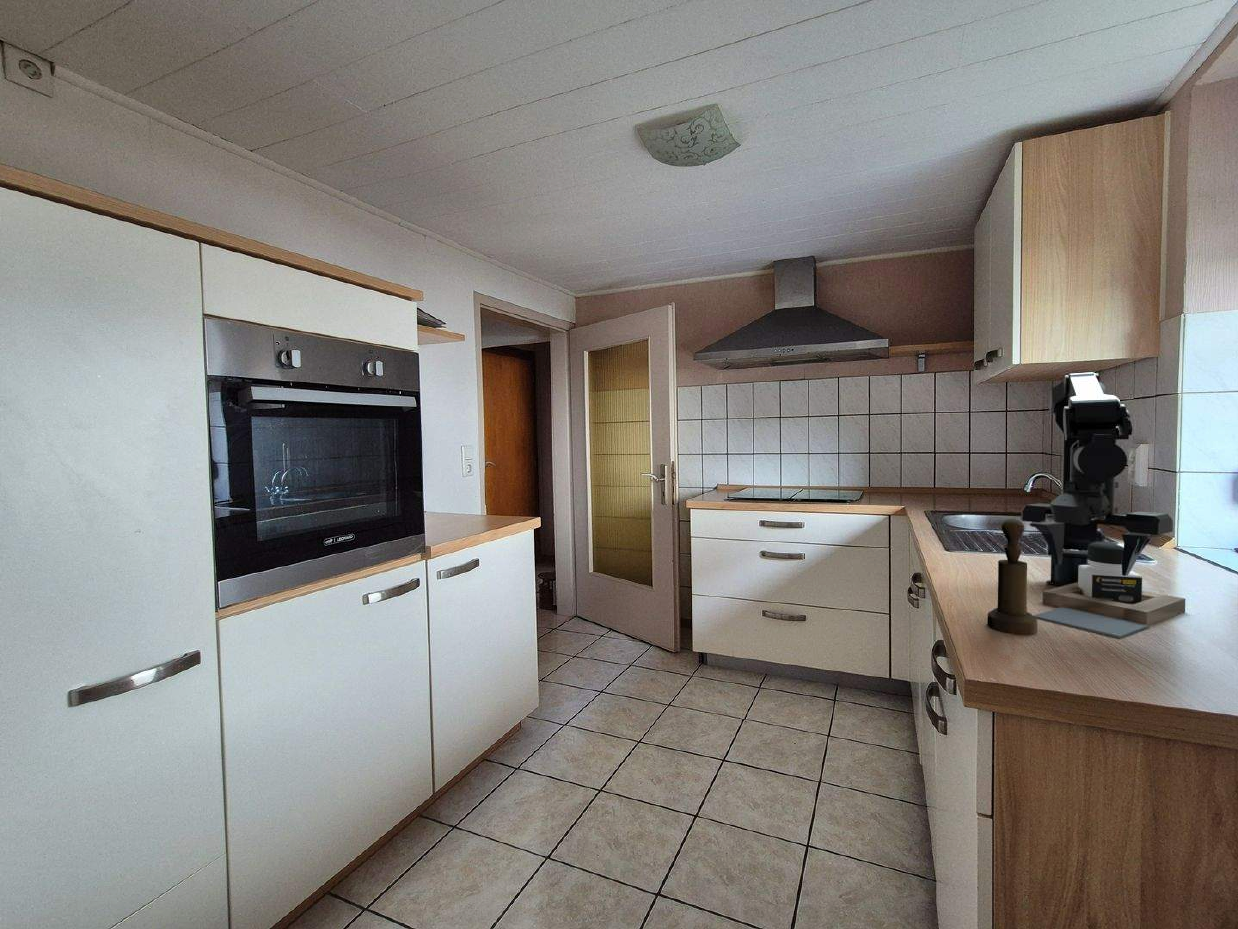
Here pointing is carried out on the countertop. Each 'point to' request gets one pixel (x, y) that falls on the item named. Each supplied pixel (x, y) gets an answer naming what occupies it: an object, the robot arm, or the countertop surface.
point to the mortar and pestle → (1012, 588)
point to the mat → (1092, 622)
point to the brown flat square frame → (1117, 605)
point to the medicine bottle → (1108, 575)
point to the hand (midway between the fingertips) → (1090, 569)
